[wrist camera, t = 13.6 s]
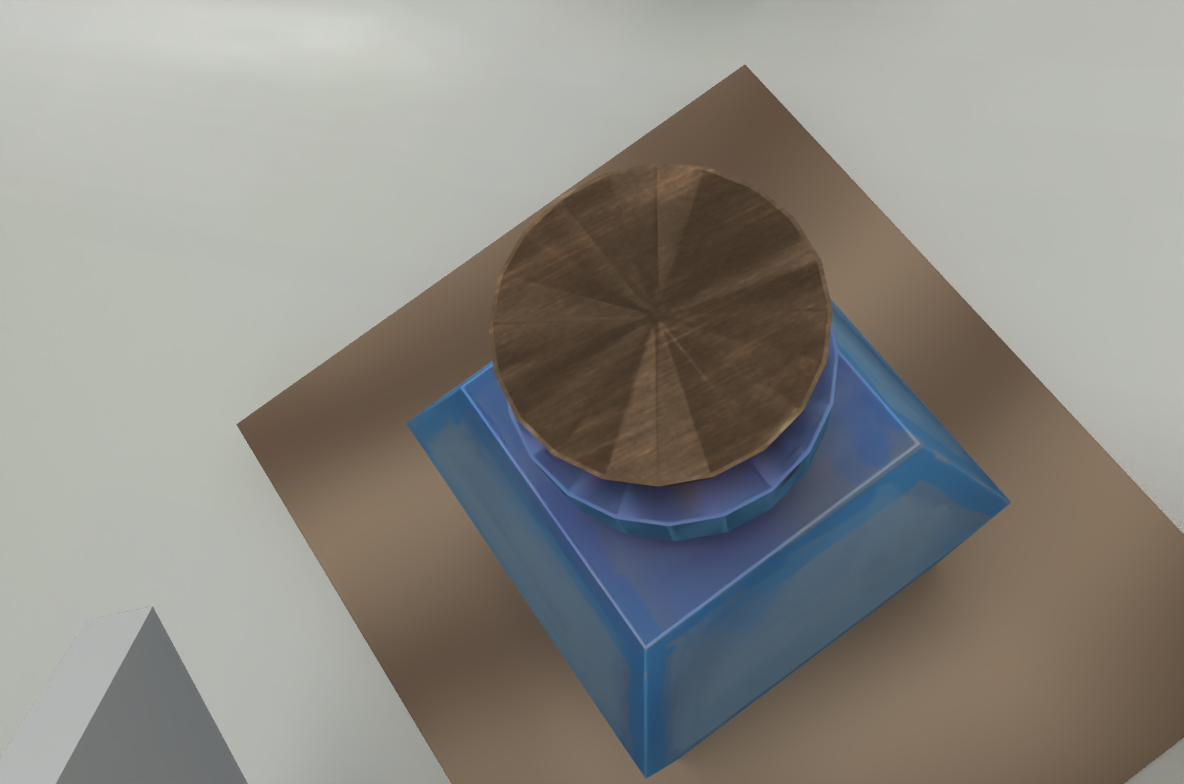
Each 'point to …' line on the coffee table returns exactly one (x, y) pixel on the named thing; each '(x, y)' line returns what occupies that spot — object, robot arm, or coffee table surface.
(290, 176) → the coffee table surface
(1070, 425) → the walnut board
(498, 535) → the perfume bottle
